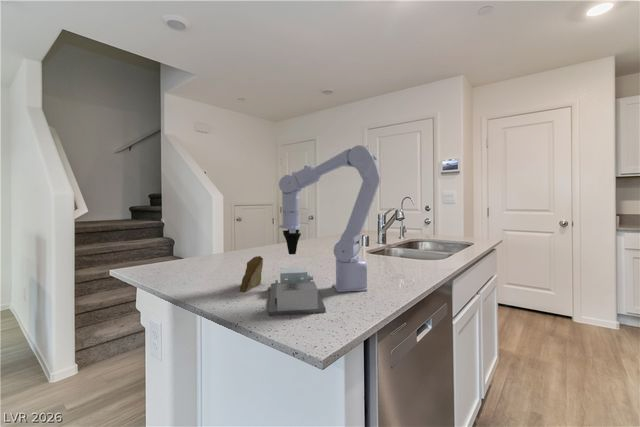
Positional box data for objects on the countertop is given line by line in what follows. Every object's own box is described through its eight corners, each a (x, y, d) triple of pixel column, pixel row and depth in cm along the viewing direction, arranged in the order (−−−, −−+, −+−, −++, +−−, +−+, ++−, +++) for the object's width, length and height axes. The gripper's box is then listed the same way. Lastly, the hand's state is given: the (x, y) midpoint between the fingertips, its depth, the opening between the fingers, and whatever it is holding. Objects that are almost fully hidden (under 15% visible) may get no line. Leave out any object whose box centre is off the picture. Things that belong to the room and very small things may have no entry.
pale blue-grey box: (311, 282, 98) (311, 266, 98) (315, 291, 90) (314, 273, 89) (280, 284, 97) (280, 268, 97) (280, 292, 88) (280, 275, 88)
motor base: (313, 284, 101) (313, 266, 101) (325, 312, 76) (325, 288, 76) (271, 286, 99) (270, 268, 99) (268, 315, 74) (268, 291, 74)
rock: (247, 287, 91) (273, 276, 98) (234, 263, 93) (260, 253, 100) (234, 301, 98) (259, 290, 105) (222, 278, 100) (248, 268, 107)
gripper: (278, 211, 109) (279, 249, 109) (279, 213, 94) (279, 256, 95) (298, 210, 109) (299, 248, 110) (302, 212, 95) (302, 256, 96)
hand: (291, 252), depth 103 cm, fingers open, 6 cm apart
